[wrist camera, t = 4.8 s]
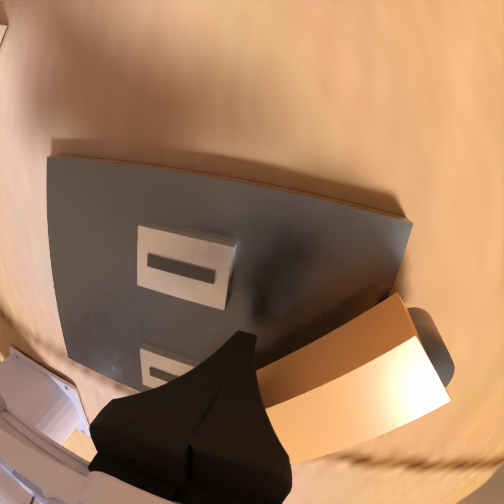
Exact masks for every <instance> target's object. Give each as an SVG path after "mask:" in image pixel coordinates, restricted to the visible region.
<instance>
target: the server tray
mask: <svg viewBox="0 0 504 504" xmlns="http://www.w3.org/2000/svg"><path fill="white" fill-rule="evenodd" d="M47 220H48V236H49V248H50V258H51V266H52V274H53V282H54V289H55V295H56V301H57V307H58V312H59V317H60V322H61V327H62V332H63V337H64V341H65V345H66V349H67V353H68V357H69V358H70V359H72V360H74V361H76V362H78V363H80V364H82V365H84V366H86V367H88V368H90V369H92V370H94V371H96V372H98V373H100V374H102V375H104V376H106V377H108V378H111V379H113V380H115V381H117V382H120V383H122V384H124V385H126V386H129V387H131V388H133V389H136V390H138V391H141V392H145V391H147V390H150V389H153V388H156V387H158V386H161V385H163V384H165V383H168V382H170V381H172V380H174V379H176V378H178V377H180V376H181V375H183V374H185V373H186V372H188V371H190V370H191V369H193V368H194V367H196V366H197V365H199V364H200V363H201V362H203V361H204V360H206V359H207V358H208V357H209V356H211V355H212V354H213V353H214V352H215V351H217V350H218V349H219V348H220V347H221V346H222V345H223V344H224V343H225V342H226V341H227V340H228V339H229V338H230V337H231V336H232V335H233V334H234V333H235V332H236V331H238V330H240V331H244V332H248V333H252V334H255V335H256V336H257V341H256V345H255V364H256V371H257V370H259V369H261V368H263V367H265V366H267V365H269V364H271V363H273V362H275V361H277V360H279V359H281V358H283V357H285V356H287V355H289V354H291V353H293V352H295V351H297V350H299V349H301V348H303V347H305V346H306V345H308V344H310V343H312V342H314V341H316V340H318V339H319V338H321V337H323V336H325V335H327V334H328V333H330V332H332V331H334V330H335V329H337V328H339V327H341V326H342V325H344V324H346V323H348V322H349V321H351V320H353V319H354V318H356V317H358V316H360V315H361V314H363V313H364V312H366V311H368V310H369V309H371V308H373V307H374V306H376V305H378V304H379V303H381V302H382V301H384V300H386V299H387V298H388V296H389V294H390V291H391V288H392V286H393V283H394V280H395V277H396V275H397V272H398V269H399V266H400V263H401V260H402V257H403V254H404V251H405V248H406V245H407V242H408V238H409V235H410V232H411V228H412V225H413V223H412V222H411V221H410V220H409V219H408V218H407V217H403V216H399V215H396V214H392V213H389V212H385V211H381V210H377V209H374V208H370V207H366V206H362V205H358V204H354V203H350V202H346V201H342V200H338V199H334V198H329V197H325V196H321V195H316V194H312V193H307V192H303V191H298V190H294V189H289V188H284V187H280V186H275V185H270V184H265V183H260V182H255V181H249V180H244V179H239V178H233V177H228V176H222V175H216V174H210V173H204V172H198V171H192V170H185V169H179V168H172V167H165V166H158V165H151V164H143V163H136V162H127V161H119V160H110V159H101V158H91V157H80V156H69V155H55V156H49V157H47Z"/></svg>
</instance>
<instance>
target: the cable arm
mask: <svg viewBox="0 0 504 504" xmlns="http://www.w3.org/2000/svg"><path fill="white" fill-rule="evenodd" d="M256 373H257V379H258V384H259V389H260V393H261V397H262V400H263V404H264V407H265V410H266V412H267V415H268V417H269V420H270V422H271V424H272V427H273V429H274V431H275V433H276V435H277V437H278V439H279V441H280V442H281V444H282V446H283V447H284V449H285V451H286V452H287V454H288V455H289V459H290V465H293V464H297V463H300V462H304V461H308V460H311V459H314V458H318V457H321V456H324V455H327V454H330V453H333V452H336V451H339V450H342V449H345V448H348V447H351V446H354V445H356V444H359V443H362V442H364V441H367V440H369V439H372V438H374V437H377V436H379V435H382V434H384V433H386V432H389V431H391V430H393V429H395V428H398V427H400V426H402V425H404V424H406V423H408V422H410V421H413V420H415V419H417V418H419V417H421V416H423V415H425V414H427V413H429V412H430V411H432V410H434V409H436V408H438V407H440V406H442V405H443V404H445V403H447V402H449V401H451V400H450V397H449V394H448V392H447V389H446V386H447V385H448V384H449V382H450V381H451V379H452V377H453V374H454V363H453V361H452V358H451V356H450V354H449V352H448V350H447V348H446V346H445V344H444V342H443V340H442V338H441V335H440V333H439V331H438V329H437V328H436V326H435V324H434V322H433V320H432V318H431V316H430V315H429V314H428V312H426V311H425V310H423V309H420V308H414V307H412V308H407V307H406V306H405V304H404V302H403V301H402V299H401V297H400V296H399V294H398V292H396V293H395V294H393V295H392V296H390V297H389V298H387V299H386V300H384V301H382V302H381V303H379V304H378V305H376V306H374V307H373V308H371V309H369V310H368V311H366V312H364V313H363V314H361V315H360V316H358V317H356V318H354V319H353V320H351V321H349V322H348V323H346V324H344V325H342V326H341V327H339V328H337V329H335V330H334V331H332V332H330V333H328V334H327V335H325V336H323V337H321V338H319V339H318V340H316V341H314V342H312V343H310V344H308V345H306V346H305V347H303V348H301V349H299V350H297V351H295V352H293V353H291V354H289V355H287V356H285V357H283V358H281V359H279V360H277V361H275V362H273V363H271V364H269V365H267V366H265V367H263V368H261V369H259V370H257V371H256Z"/></svg>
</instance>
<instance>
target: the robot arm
mask: <svg viewBox="0 0 504 504" xmlns="http://www.w3.org/2000/svg"><path fill="white" fill-rule="evenodd" d="M256 341H257V336H256V335H255V334H252V333H248V332H244V331H240V330H238V331H236V332H235V333H234V334H233V335H232V336H231V337H230V338H229V339H228V340H227V341H226V342H225V343H224V344H223V345H222V346H221V347H220V348H219V349H218V350H217V351H215V352H214V353H213V354H212V355H211V356H209V357H208V358H207V359H206V360H204V361H203V362H201V363H200V364H199V365H197V366H196V367H194V368H193V369H191V370H190V371H188V372H186V373H185V374H183V375H181V376H180V377H178V378H176V379H174V380H172V381H170V382H168V383H165V384H163V385H161V386H158V387H156V388H153V389H150V390H147V391H145V392H142V393H139V394H135V395H131V396H127V397H122V398H118V399H112V400H111V401H110V402H109V403H108V404H107V405H106V406H105V407H104V408H103V409H102V410H101V411H100V412H99V414H98V415H97V416H96V418H95V419H94V420H93V422H92V423H91V424H90V427H89V424H88V421H87V419H86V416H85V413H84V410H83V407H82V404H81V401H80V398H79V395H78V392H77V389H76V387H75V386H74V385H72V384H71V383H69V382H67V381H65V380H64V379H62V378H60V377H58V376H57V375H55V374H53V373H52V372H50V371H48V370H47V369H45V368H44V367H42V366H40V365H39V364H37V363H36V362H34V361H33V360H31V359H30V358H28V357H27V356H25V355H24V354H22V353H21V352H19V351H18V350H16V349H15V348H13V347H12V346H11V347H9V352H10V356H8V357H7V358H6V359H5V360H4V361H2V362H1V363H0V504H42V503H43V504H282V502H283V501H284V500H285V498H286V497H287V496H288V494H289V493H290V491H291V488H292V471H291V465H290V459H289V455H288V454H287V452H286V451H285V449H284V447H283V446H282V444H281V442H280V441H279V439H278V437H277V435H276V433H275V431H274V429H273V427H272V424H271V422H270V420H269V417H268V415H267V412H266V410H265V407H264V404H263V400H262V397H261V393H260V389H259V384H258V379H257V373H256V364H255V345H256ZM74 429H77V430H78V431H80V432H82V433H84V434H85V435H87V436H91V438H92V440H93V443H94V445H95V447H96V450H97V452H98V453H97V454H96V455H95V457H94V458H93V460H92V461H91V463H90V462H88V461H86V460H85V459H83V458H81V457H79V456H78V455H76V454H74V453H73V452H71V451H69V450H68V449H66V448H65V447H63V446H62V445H63V443H64V442H65V441H66V440H67V438H68V437H69V436H70V434H71V433H72V432H73V431H74Z"/></svg>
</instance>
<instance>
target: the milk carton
mask: <svg viewBox="0 0 504 504" xmlns="http://www.w3.org/2000/svg"><path fill="white" fill-rule="evenodd" d="M6 28H7V25H1V24H0V44H1V41H2V38H3V36H4V33H5V31H6Z"/></svg>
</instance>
